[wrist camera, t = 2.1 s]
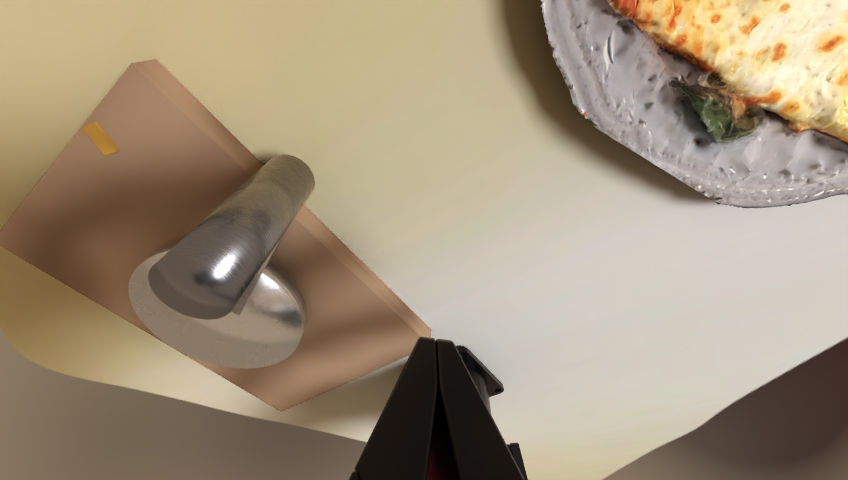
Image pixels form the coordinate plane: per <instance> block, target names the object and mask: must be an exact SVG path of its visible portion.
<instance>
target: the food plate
mask: <svg viewBox="0 0 848 480" xmlns="http://www.w3.org/2000/svg"><path fill="white" fill-rule="evenodd" d="M541 1H542V5H540V6H541V7H542V9H543V10H542V13H544V14H543V17H544V23H546V25H545V27H546V29H547V31H546V34H548V39H549V40H548V43H549V44H551V47H553V48H552V50H553V55H552V56H553V58H554V59H555V61H557V62H556V65H557V66H558V68H560V72H561V74H562V76H563V79H564V80H565V82H566V84H567V86H568V88H569V90H570V91H569V92H570V94H571V96H572V97H571V98H572V100H573V104H574V107H575V108H579V109H578V110H577V111H579V113H580V114H583V115H584V116H585V118H586V119H590V118H591V119H590V120H591V121H592V122H593V123H595V124H597V127H598V128H597V127H596V126H594V125H593V126H594V127H595V128H596V129H598V130H599V131H601V132H603V131H605V132H603V133H604V134H606V133H607V134H606V135H607V136H609V137H610V138H612V139H614V138H615V139H614V140H615V141H617V142H619V141H620V142H621V143H620V142H619V143H620V144H622V145H623V146H625V145H626V146H625V147H627V148H628V147H629V149H630V150H632V151H633V152H635V153H637V154H638V155H640V156H641V157H643V158H644V159H646V160H648V161H650V162H651V163H652V164H654V165H655V166H657V167H658V168H660V169H663V170H664V171H666V172H667V173H669V174H671V175H672V176H674V177H675V178H677V179H678V180H680V181H681V180H682V182H683V183H684V182H685V184H686V183H687V184H686V185H688V186H689V185H690V187H691V188H693V189H695V190H696V191H698V192H699V190H700V192H699V193H701V192H704V194H703V195H704V196H706V197H708V198H709V197H710V196H711V197H710V198H717V197H718V198H717V199H716V201H714V202H716V203H718V204H725V205H730V206H732V205H733V206H736V207H742V208H766V207H776V206H784V205H788V206H790V205H792V204H800V203H807V202H810V201H814V200H819V199H824V198H827V197H831V196H835V195H841V194H848V0H541ZM578 116H580V115H578ZM580 117H581V116H580ZM583 119H584V118H583ZM587 122H588V121H587ZM590 124H591V123H590ZM591 125H592V124H591ZM599 125H600V126H601V127H599ZM600 129H601V130H600ZM602 130H603V131H602ZM701 194H702V193H701ZM710 198H709V199H710ZM711 200H712V199H711Z"/></svg>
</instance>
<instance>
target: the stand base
mask: <svg viewBox="0 0 848 480" xmlns="http://www.w3.org/2000/svg"><path fill="white" fill-rule="evenodd" d="M263 166H264V165H263V164H262V163H261V162H260V161H259V160H258V159H257V158H256V157H255V156H254V155H253V154H252V153H251V152H250V151H249V150H248V149H247V148H245V147H244V146H243V145H242V144H241V143H240V142H239V141H238V140H237V139H236V138H235V137H234V136H233V135H232V134H231V133H230V132H229V131H228V130H227V129H226V128H225V127H224V126H223V125H222V124H221V123H220V122H219V121H218V120H217V119H216V118H215V117H214V116H213V115H212V114H211V113H210V112H209V111H208V110H207V109H206V108H205V107H204V106H203V105H202V104H201V103H200V102H199V101H198V100H197V99H196V98H195V97H194V96H193V95H192V94H190V93H189V92H188V91H187V90H186V89H185V88H184V87H183V86H182V85H181V84H180V83H179V82H178V81H177V80H176V79H175V78H174V77H173V76H172V75H171V74H170V73H169V72H168V71H167V70H166V69H165V68H164V67H163V66H162V65H161V64H160V63H159V62H158V61H157V60H156V59H154V60H149V61H143V62H137V63H132V64H131V65H130V66H129V67H128V68H127V70H126V71H125V72H124V74H123V75H122V76H121V77H120V79H119V80H118V81H117V82H116V84H115V85H114V86H113V88H112V89H111V90H110V91H109V93H108V94H107V95H106V96H105V98H104V99H103V100H102V102H101V103H100V104H99V105H98V107H97V108H96V109H95V110H94V112H93V113H92V114H91V116H90V117H89V118H88V119H87V121H86V122H85V123H84V124H83V126H82V127H81V128H80V130H79V131H78V132H77V133H76V135H75V136H74V137H73V138H72V140H71V141H70V142H69V144H68V145H67V146H66V147H65V149H64V150H63V151H62V153H61V154H60V155H59V156H58V158H57V159H56V160H55V161H54V163H53V164H52V165H51V167H50V168H49V169H48V170H47V172H46V173H45V174H44V175H43V177H42V178H41V179H40V181H39V182H38V183H37V184H36V186H35V187H34V188H33V189H32V191H31V192H30V193H29V195H28V196H27V197H26V198H25V200H24V201H23V202H22V203H21V205H20V206H19V207H18V209H17V210H16V211H15V212H14V214H13V215H12V216H11V217H10V219H9V220H8V221H7V223H6V224H5V225H4V226H3V228H2V229H1V230H0V246H2V247H3V248H5V249H7V250H8V251H10V252H12V253H14V254H15V255H17V256H19V257H20V258H22V259H24V260H25V261H27V262H29V263H30V264H32V265H34V266H36V267H37V268H39V269H41V270H42V271H44V272H46V273H47V274H49V275H51V276H52V277H54V278H56V279H58V280H59V281H61V282H63V283H64V284H66V285H68V286H69V287H71V288H73V289H74V290H76V291H78V292H80V293H81V294H83V295H85V296H86V297H88V298H90V299H91V300H93V301H95V302H96V303H98V304H100V305H101V306H103V307H105V308H107V309H108V310H110V311H112V312H113V313H115V314H117V315H118V316H120V317H122V318H123V319H125V320H127V321H129V322H130V323H132V324H134V325H135V326H137V327H139V328H140V329H142V330H144V331H145V332H147V333H149V334H151V335H152V336H154V337H156V338H157V339H159V338H158V337H157V336H156V335H154V334H153V333H152V332H151V331H150V330H149V329H148V328H147V327H146V326H145V325H144V324H143V322H142V321H141V320H140V319H139V317H138V316H137V314H136V313H135V311H134V309H133V307H132V305H131V302H130V299H129V293H128V286H129V280H130V278H131V275H132V273H133V272H134V270H135V269H136V268H137V267H138V266H139V265H140V264H141V263H142V262H144V261H145V260H146V259H147V258H148V257H149V256H150V255H152V254H153V253H154V252H155V251H156V250H158V249H159V248H161V247H163V246H164V245H167V244H169V243H172V242H176V241H180V240H182V239H183V238H184V237H185V236H186V235H187V234H188V233H190V232H191V231H192V230H193V229H194V228H195V227H196V226H197V225H198V224H200V223H201V222H202V221H203V220H204V219H205V218H206V217H207V216H208V215H209V214H211V213H212V212H213V211H214V210H215V209H216V208H217V207H218V206H219V205H221V204H222V203H223V202H224V201H225V200H226V199H227V198H228V197H229V196H230V195H232V194H233V193H234V192H235V191H236V190H237V189H238V188H239V187H240V186H242V185H243V184H244V183H245V182H246V181H247V180H248V179H249V178H250V177H252V176H253V175H254V174H255V173H256V172H257V171H258V170H259V169H260V168H261V167H263ZM270 262H271V263H273V264H274V265H275V266H277V267H278V268H279V269H280V270H282V271H283V272H284V273H285V274H286V275H287V276H288V277H289V278H290V279H291V280H292V281H293V283H294V284H295V285H296V286H297V288H298V289H299V291H300V293H301V294H302V296H303V299H304V301H305V304H306V308H307V315H308V318H307V324H306V327H305V330H304V333H303V335H302V338H301V340H300V342H299V345H298V346H297V348H296V350H295V351H294V352H293V353H292V354H291V355H290V356H289V357H287V358H286V359H284V360H282V361H281V362H278V363H276V364H273V365H270V366H266V367H260V368H248V369H246V368H231V367H224V366H219V365H215V364H211V363H207V362H204V361H201V360H198V359H196V358H193V357H191V356H188V355H186V354H184V353H183V354H184V355H186V356H188V357H189V358H191V359H193V360H194V361H196V362H198V363H200V364H201V365H203V366H205V367H206V368H208V369H210V370H211V371H213V372H215V373H216V374H218V375H220V376H222V377H223V378H225V379H227V380H228V381H230V382H232V383H233V384H235V385H237V386H238V387H240V388H242V389H244V390H245V391H247V392H249V393H250V394H252V395H254V396H255V397H257V398H259V399H260V400H262V401H264V402H265V403H267V404H269V405H271V406H272V407H274V408H276V409H277V410H279V411H283V410H286V409H288V408H290V407H293V406H295V405H297V404H299V403H302V402H304V401H306V400H309V399H311V398H313V397H315V396H318V395H320V394H322V393H324V392H327V391H329V390H331V389H334V388H336V387H338V386H340V385H343V384H345V383H347V382H349V381H352V380H354V379H356V378H359V377H361V376H363V375H365V374H368V373H370V372H372V371H374V370H377V369H379V368H381V367H384V366H386V365H388V364H390V363H393V362H395V361H397V360H399V359H402V358H404V357H406V356H409V355H410V354H411V352H412V350H413V348H414V346H415V344H416V342H417V340H418V338H419V337H429V338H431V329H430V328H429V327H428V326H427V325H426V324H425V323H424V322H423V321H422V320H421V319H420V318H419V317H418V316H417V315H416V314H415V313H414V312H413V311H412V310H411V309H409V308H408V307H407V306H406V305H405V304H404V303H403V302H402V301H401V300H400V299H399V298H398V297H397V296H396V295H395V294H394V293H393V292H392V291H391V290H390V289H389V288H388V287H387V286H386V285H385V284H384V283H383V282H382V281H381V280H380V279H379V278H378V277H377V276H376V275H375V274H374V273H373V272H372V271H371V270H370V269H369V268H368V267H367V266H366V265H365V264H364V263H363V262H362V261H361V260H360V259H359V258H358V257H357V256H356V255H354V254H353V253H352V252H351V251H350V250H349V249H348V248H347V247H346V246H345V245H344V244H343V243H342V242H341V241H340V240H339V239H338V238H337V237H336V236H335V235H334V234H333V233H332V232H331V231H330V230H329V229H328V228H327V227H326V226H325V225H324V224H323V223H322V222H321V221H320V220H319V219H318V218H317V217H316V216H315V215H314V214H313V213H312V212H311V211H310V210H309V209H308V208H307V207H306V206H305V205H303V206H302V208H301V209H300V211H299V212H298V214H297V215H296V217H295V218H294V220H293V221H292V223H291V224H290V225H289V227H288V229H287V231H286V233H285V235H284V237H283V238H282V240H281V242H280V244H279V246H278V248H277V250H276V251H275V253H274V255H273V257H272V259H271V261H270ZM159 340H161V339H159ZM161 341H162V340H161ZM162 342H164V341H162ZM164 343H165V342H164ZM167 345H168V344H167ZM172 348H173V347H172ZM174 349H175V348H174ZM179 352H180V351H179ZM181 353H182V352H181Z"/></svg>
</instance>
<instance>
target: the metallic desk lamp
mask: <svg viewBox="0 0 848 480" xmlns="http://www.w3.org/2000/svg"><path fill="white" fill-rule="evenodd" d="M314 186H315V180H314V176H313V173H312V171H311V170H310V168H309V167H308V166H307V165H306V164H305V163H304V162H303V161H302V160H300V159H298V158H296V157H294V156H290V155H278V156H275V157H273V158H271V159H270V160H269V161H268V162H267V163H266V164H265V165H264V166H263V167H261V168H260V169H259V170H258V171H257V172H256V173H255V174H254V175H253V176H252V177H250V178H249V179H248V180H247V181H246V182H245V183H244V184H243V185H242V186H240V187H239V188H238V189H237V190H236V191H235V192H234V193H233V194H232V195H230V196H229V197H228V198H227V199H226V200H225V201H224V202H223V203H222V204H221V205H219V206H218V207H217V208H216V209H215V210H214V211H213V212H212V213H211V214H209V215H208V216H207V217H206V218H205V219H204V220H203V221H202V222H201V223H200V224H198V225H197V226H196V227H195V228H194V229H193V230H192V231H191V232H190V233H188V234H187V235H186V236H185V237H184V238H183V239H182V240H180V241H176V242H172V243H169V244H167V245H164V246H163V247H161V248H159V249H158V250H156V251H155V252H154V253H153V254H152V255H150V256H149V257H148V258H147V259H146V260H145V261H144V262H142V263H141V264H140V265H139V266H138V267H137V268H136V269H135V270H134V272H133V273H132V275H131V278H130V280H129V286H128V293H129V299H130V302H131V305H132V307H133V309H134V311H135V313H136V314H137V316H138V317H139V319H140V320H141V321H142V322H143V324H144V325H145V326H146V327H147V328H148V329H149V330H150V331H151V332H152V333H153V334H154V335H156V336H157V337H158V338H159V339H161V340H162V341H164V342H165V343H166V344H168V345H169V346H171V347H173V348H175V349H176V350H178V351H180V352H182V353H184V354H186V355H188V356H191V357H193V358H196V359H198V360H201V361H204V362H207V363H211V364H215V365H219V366H224V367H231V368H246V369H248V368H260V367H266V366H270V365H273V364H276V363H278V362H281V361H282V360H284V359H286V358H287V357H289V356H290V355H291V354H292V353H293V352H294V351H295V350H296V348H297V346H298V345H299V342H300V340H301V338H302V335H303V333H304V330H305V327H306V324H307V318H308V315H307V308H306V304H305V301H304V299H303V296H302V294H301V293H300V291H299V289H298V288H297V286H296V285H295V284H294V283H293V281H292V280H291V279H290V278H289V277H288V276H287V275H286V274H285V273H284V272H283V271H282V270H280V269H279V268H278V267H277V266H275V265H274V264H273V263H271V262H270V261H271V259H272V257H273V255H274V253H275V251H276V250H277V248H278V246H279V244H280V242H281V240H282V238H283V237H284V235H285V233H286V231H287V229H288V227H289V225H290V224H291V223H292V221H293V220H294V218H295V217H296V215H297V214H298V212H299V211H300V209H301V208H302V206H303V205H304V203H305V202H306V200H307V199H308V197H309V196H310V195H311V193H312V192H313V189H314Z"/></svg>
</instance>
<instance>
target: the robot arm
mask: <svg viewBox="0 0 848 480" xmlns="http://www.w3.org/2000/svg"><path fill="white" fill-rule="evenodd" d="M503 391H504V388H503V384H502V383H501V382H500V381H499V380H498V379H497V378H496V377H495V376H494V375H493V374H492V373H491V372H490V371H489V370H488V369H487V368H486V367H485V366H484V365H483V364H482V363H481V362H480V361H479V360H478V359H477V358H476V357H475V356H474V355H473V353H472V352H471V351H470V350H469V349H467V348H465V347H460V348H458V349H457V348H456V346H455V344H454V343H453V342H452V341H450V340H444V339H437V340H436V341H435V339H434V338H429V337H419V338H418V340H417V342H416V344H415V346H414V348H413V350H412V352H411V354H410V356H409V358H408V360H407V362H406V365H405V367H404V369H403V371H402V372H401V374H400V377H399V379H398V381H397V383H396V385H395V387H394V389H393V391H392V393H391V395H390V397H389V399H388V401H387V403H386V405H385V407H384V409H383V411H382V414H381V416H380V418H379V420H378V422H377V424H376V426H375V428H374V430H373V432H372V434H371V436H370V438H369V440H368V442H367V444H366V446H365V448H364V451H363V452H362V454H361V456H360V459H359V461H358V462H357V465H356V467H355V471H354V472H353V473H352V474H351V476H350V479H349V480H528V479H527V475H526V471H525V467H524V463H523V459H522V455H521V452H520V448H519V444H518V443H510V445H506V443H505V441H504V439H503V437H502V435H501V433H500V431H499V430H498V428H497V426H496V424H495V422H494V420H493V418H492V416H491V410H490V402H489V397H491V396H494V395H497V394H500V393H502V392H503Z"/></svg>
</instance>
